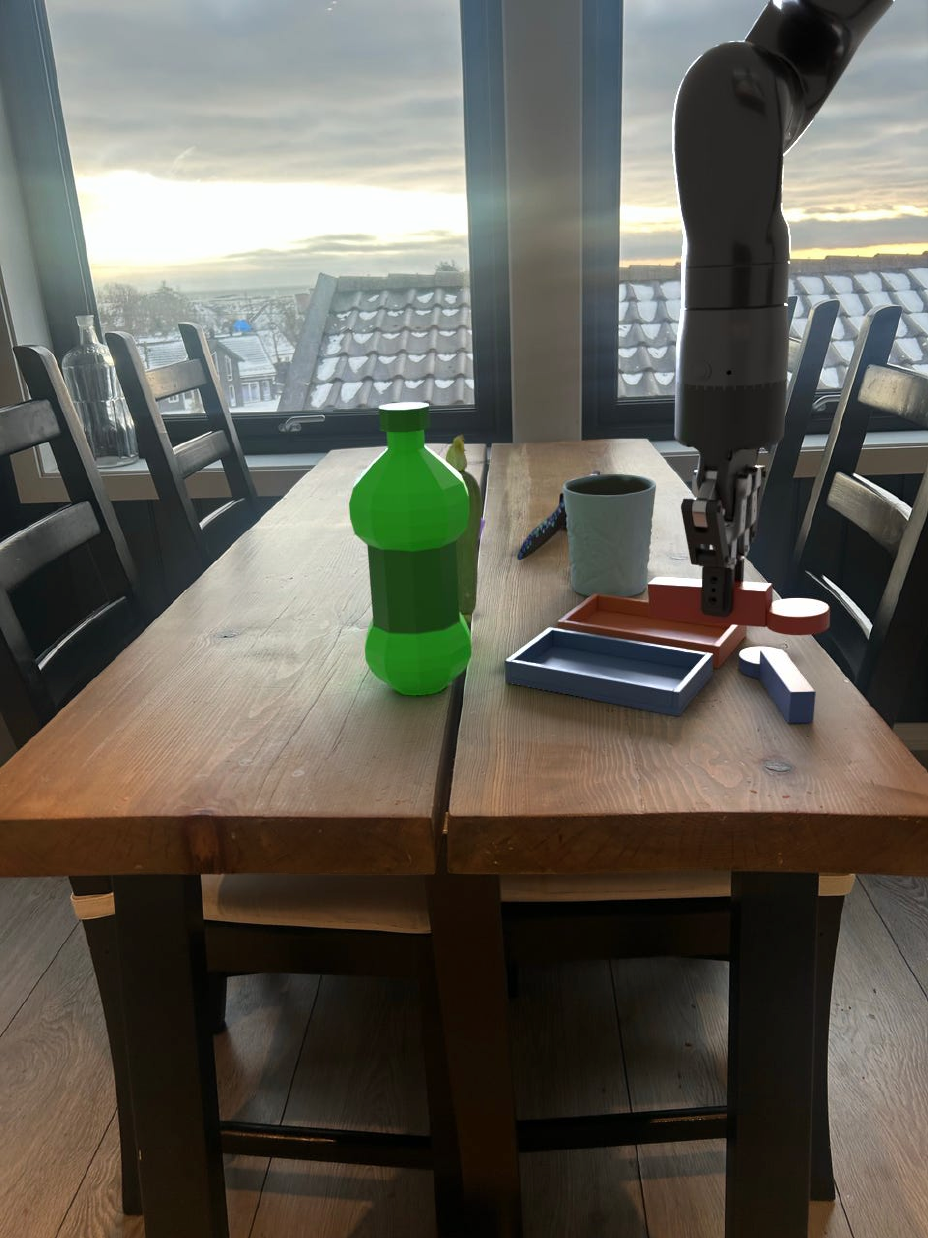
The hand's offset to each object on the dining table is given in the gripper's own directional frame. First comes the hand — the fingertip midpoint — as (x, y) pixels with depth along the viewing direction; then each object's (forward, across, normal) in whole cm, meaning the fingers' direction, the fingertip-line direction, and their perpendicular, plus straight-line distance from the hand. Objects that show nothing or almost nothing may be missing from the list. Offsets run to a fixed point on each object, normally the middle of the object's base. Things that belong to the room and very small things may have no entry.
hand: (721, 608), depth 75 cm
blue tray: (+11, +7, +12) cm, 17 cm away
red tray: (+11, +18, +12) cm, 24 cm away
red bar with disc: (+1, 0, -1) cm, 1 cm away
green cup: (+11, +31, +22) cm, 39 cm away
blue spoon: (+11, +11, -2) cm, 15 cm away
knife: (+11, +50, +37) cm, 63 cm away
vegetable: (+11, +14, +31) cm, 35 cm away
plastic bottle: (+11, -1, +27) cm, 29 cm away
